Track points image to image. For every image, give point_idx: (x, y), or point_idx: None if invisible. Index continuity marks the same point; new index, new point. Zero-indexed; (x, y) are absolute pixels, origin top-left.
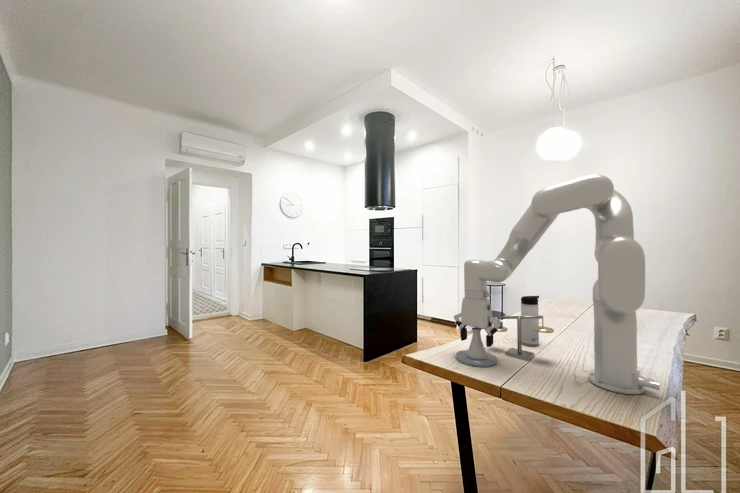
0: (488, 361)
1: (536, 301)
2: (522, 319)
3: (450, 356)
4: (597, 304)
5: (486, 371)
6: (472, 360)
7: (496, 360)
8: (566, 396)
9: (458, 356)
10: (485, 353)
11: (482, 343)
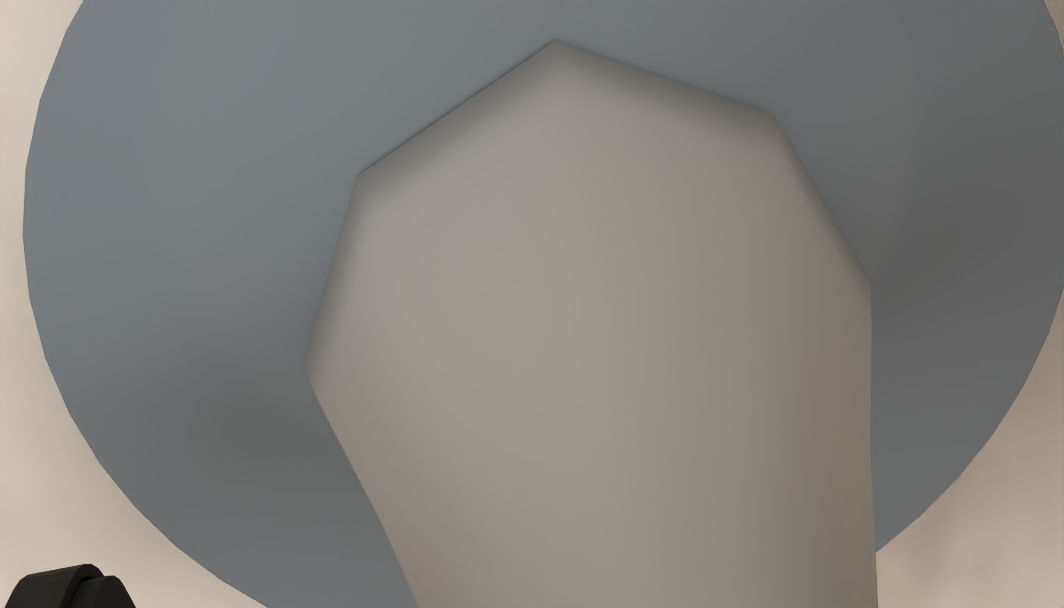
0: (936, 317)
1: None
2: None
3: (134, 576)
4: None
5: (1025, 540)
6: None
7: (1056, 109)
8: None
9: (342, 600)
10: (844, 303)
11: (819, 460)
